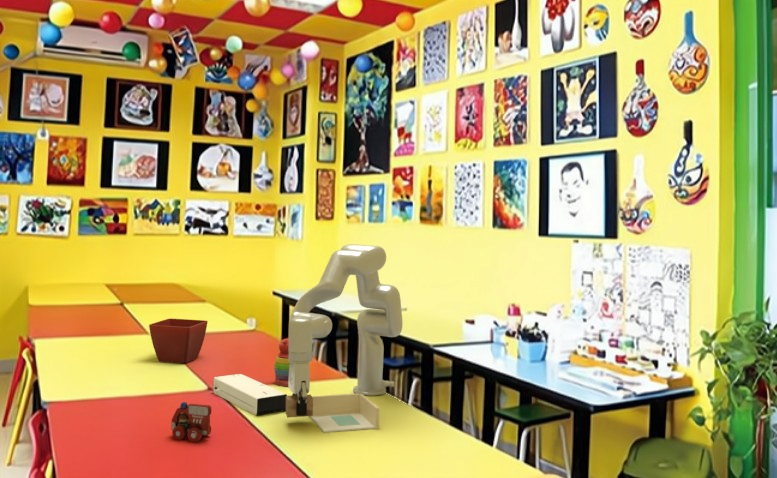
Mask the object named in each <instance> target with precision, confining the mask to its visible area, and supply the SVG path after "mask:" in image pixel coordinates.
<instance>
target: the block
mask: <svg viewBox="0 0 777 478" xmlns="http://www.w3.org/2000/svg"><path fill="white" fill-rule="evenodd" d="M301 396H302V395H300V397H301ZM312 396H313V395H312V394H307V414H306V415H301V416H297V415H296V403H298V401H297V395H287V396H286V411H285V415H286V418H300V417H303V418H305V417H310V416H313V398H312Z"/></svg>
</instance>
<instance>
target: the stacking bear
mask: <svg viewBox="0 0 777 478" xmlns="http://www.w3.org/2000/svg"><path fill="white" fill-rule="evenodd" d="M288 348H289V337H286V338H283V339H281V340H280V341H279V344H278V350H279V353H278V354H277V355H276V358H275V362H274V367H273V368H274V374H275V379H274V384H275V385H277V386H279V387H287V388H289V387H288V380H289V365H290V362H289V361H288V351H289V350H288Z"/></svg>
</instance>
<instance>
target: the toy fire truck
mask: <svg viewBox="0 0 777 478" xmlns="http://www.w3.org/2000/svg"><path fill="white" fill-rule="evenodd" d="M211 415H212V407H211V405H208V404H199V403H189V404H188V403H187V401H185V402H181V403H180V407H178V408H176V410H175V412H174V414H173V416H172V418H171V430H172V433H171V435H172V437H173V438H174V439H175V440H177V441H182V440H183V439H185V438H186V436H187V438H188V440H189V441H190V442H191V443H197V442H199V441H201V439H202V436H204V437H207V436H210V434H211V433H212V427H211Z"/></svg>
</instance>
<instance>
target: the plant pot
mask: <svg viewBox="0 0 777 478" xmlns="http://www.w3.org/2000/svg"><path fill="white" fill-rule="evenodd" d="M207 327H208V320H202V319H185V318H166V319H162V320H159V321H156V322H154V323H149V326H148V328H149V335H150V338H151V342H152V346H153V349H154V353H155V355H156V358H157V360H158V362H160V363H173V364H187V363H189V362H191V361H193V360H195V359H198V358H199V355H200V352H201V349H202V347H203V343H204V340H205V337H206V332H207Z"/></svg>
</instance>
